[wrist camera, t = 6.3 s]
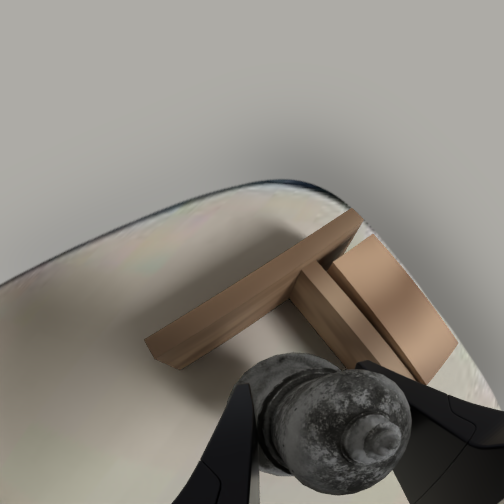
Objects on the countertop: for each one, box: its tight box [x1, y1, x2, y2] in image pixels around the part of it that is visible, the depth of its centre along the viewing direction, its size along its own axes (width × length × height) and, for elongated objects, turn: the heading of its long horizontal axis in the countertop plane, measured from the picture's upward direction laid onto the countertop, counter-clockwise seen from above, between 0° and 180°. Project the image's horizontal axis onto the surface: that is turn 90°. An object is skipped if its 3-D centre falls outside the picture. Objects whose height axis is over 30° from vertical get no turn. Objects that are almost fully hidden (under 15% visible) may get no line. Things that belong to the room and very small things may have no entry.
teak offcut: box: [327, 234, 458, 385], centre depth 16 cm, size 10×4×2 cm, turn 33°
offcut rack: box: [144, 208, 416, 381], centre depth 16 cm, size 14×16×6 cm
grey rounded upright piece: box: [227, 353, 412, 495], centre depth 8 cm, size 6×6×12 cm
